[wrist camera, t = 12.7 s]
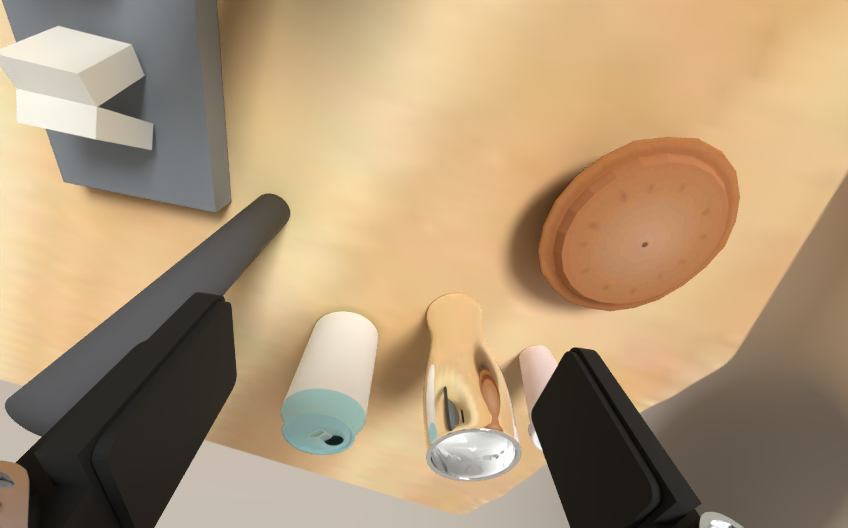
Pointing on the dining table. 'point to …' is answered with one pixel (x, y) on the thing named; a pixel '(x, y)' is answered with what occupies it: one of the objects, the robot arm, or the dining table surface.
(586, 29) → the dining table surface
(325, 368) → the can
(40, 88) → the middle paddle
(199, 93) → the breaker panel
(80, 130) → the paddle
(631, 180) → the pie
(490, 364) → the beer glass
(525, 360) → the smoothie
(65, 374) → the rod
